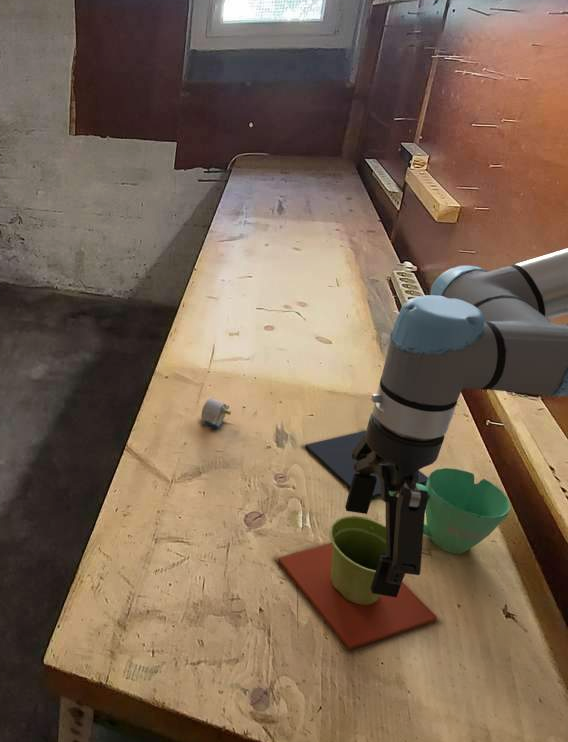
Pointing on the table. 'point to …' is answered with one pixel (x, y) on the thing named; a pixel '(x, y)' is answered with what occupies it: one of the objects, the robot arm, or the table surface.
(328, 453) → the charcoal mat
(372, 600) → the plant pot
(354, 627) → the terracotta mat
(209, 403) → the electric motor
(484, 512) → the mug
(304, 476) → the table surface
